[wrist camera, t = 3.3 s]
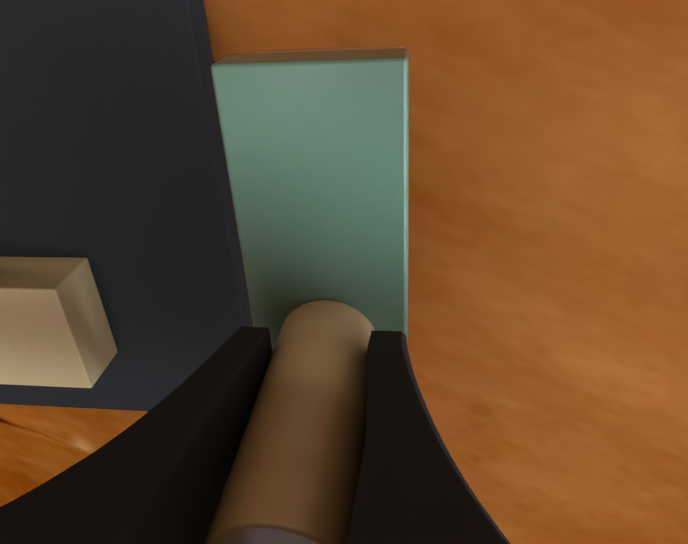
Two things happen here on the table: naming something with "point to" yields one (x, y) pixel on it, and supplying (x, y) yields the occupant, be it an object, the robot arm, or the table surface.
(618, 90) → the table surface
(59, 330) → the offcut
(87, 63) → the mat
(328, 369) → the brush
